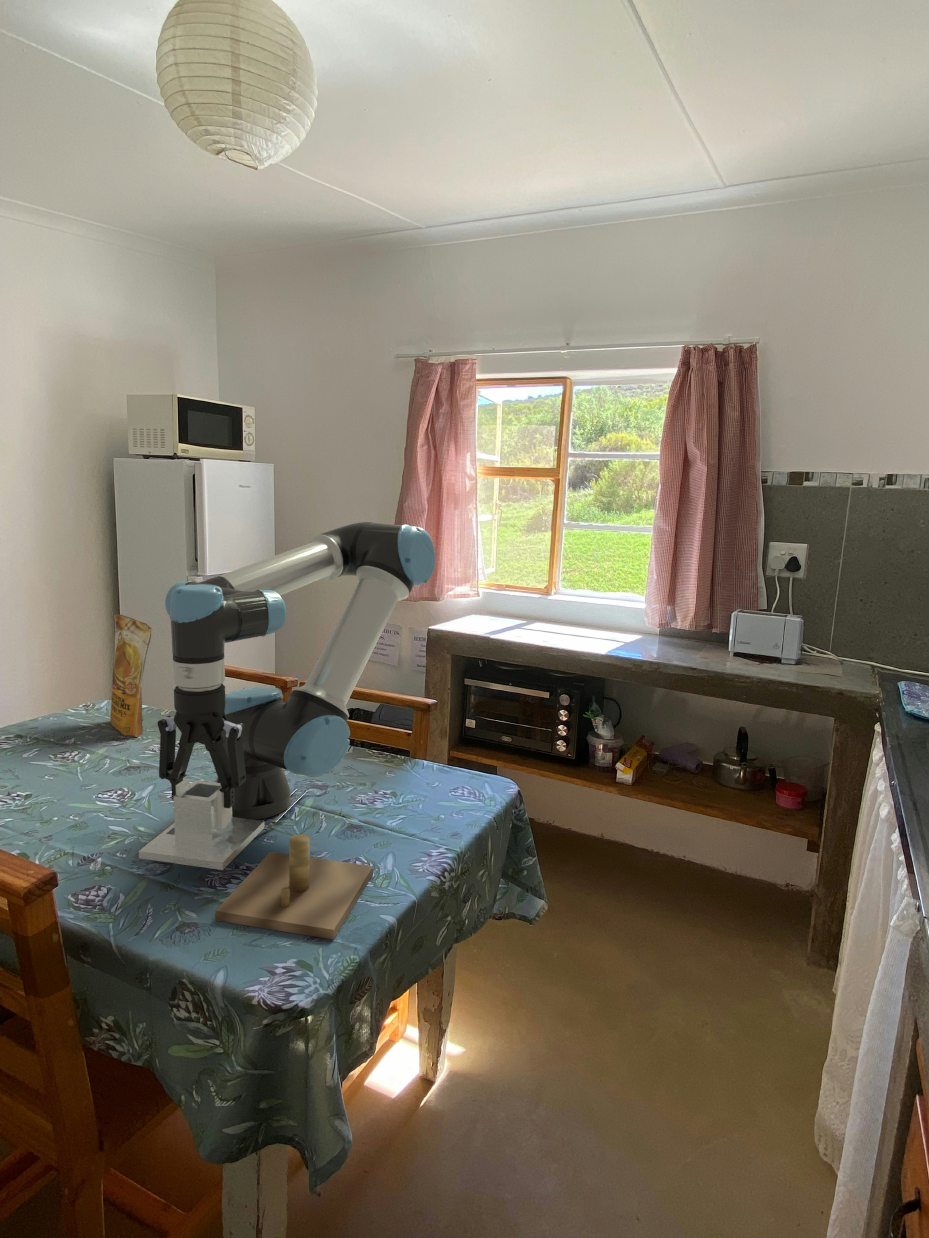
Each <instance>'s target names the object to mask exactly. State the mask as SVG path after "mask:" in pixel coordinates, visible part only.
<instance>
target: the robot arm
mask: <svg viewBox="0 0 929 1238" xmlns="http://www.w3.org/2000/svg"><path fill="white" fill-rule="evenodd" d="M435 550H436V549H435V545H434V542H433V540H432V538H431V535H430V534H429V532H428V531H427V530H426V529H424V528H422V527H420V526H413V525H410V524H391V523H380V522H371V521H362V522H361V521H359V522H356V523H355V522H354V523H351V524H350V523H349V524H347V525H344V526H341V527H337V528H335V529H332V530H328V531H326V532H323V533H320V534H317V535H315V536H313V537H312V538H311V539H310V541H309V543H307V544H303V545H302V546H301V545H300V546H298V547H296V548H292V549H290V550H288V551H285V552H282V553H279V554H276V555H272V556H271V557H269V558H265V559H262V560H259V561H257V562H254V563H252V564H249V565H246V566H243V567H240V568H238V569H234V570H232V571H229V572H226V573H223V574H220V575H216V576H214V577H211V578H207V579H205V580H202V581H200V582H196V581H194V580H188V581H185V580H184V581H179V582H176V583H174V584H173V585H172V586H171V587H170V588H169V589H168V590H167V592H166V596H165V599H164V601H165V602H164V603H165V606H164V607H165V609H166V612H167V615H168V616H169V619H170V629H171V630H170V631H171V648H172V653H171V654H172V673H173V675H172V676H173V677H172V678H173V684H174V685H175V688H174V689H173V703H174V704H173V705H174V707H173V708H174V710H175V713H174V714H175V715H174V716H171V715H167V716H165V717H163V718H161V719H160V720H158V721H157V723H156V724H157V727H158V731H159V735H160V737H159V738H160V740H159V741H160V742H159V765H158V766H159V767H158V777H159V778H160V779H161V780H164V779H165V780H168V781H169V783H170V786H171V800H172V802H174V800H173V796H175V795H176V794H177V793H179V792H180V791H182V790H183V789H184V788H186V787H187V786H188V785H190V784H191V783H190V778H185V777H187V776H188V774H186V773H187V769H188V766H189V762H190V760H191V755H192V753H193V750H194V747H195V744H197V743H199V744H201V745H204V747H205V749H206V751H207V752H209V756H210V757H211V761H212V763H213V767H214V770H215V773H216V775H217V776H216V779H215V783H220V785H221V788H219V789H218V790H217V807H218V829H223V828H224V827H225V826H227V825H228V824H229V823H230V822H231V811H230V808H231V807H232V817H236V818H244V819H252V820H262V819H266V818H270V817H274V816H275V815H278V814H280V813H283V812H284V811H285V810H287V809H288V808H289V807H290V805H291V802H292V801H291V800H292V798H291V797H292V794H291V793H292V792H291V787H290V784H289V782H288V781H289V780H288V779H287V776H286V773H285V770H286V771H289V772H290V773H292V774H293V775H296V776H304V777H309V778H319V777H322V776H324V775H326V774H329V773H330V772H332V771H333V770H334V769H336V767H338V766H339V764H341V762H342V761H343V759H344V757H345V756H346V754H347V752H348V749H349V746H350V741H351V740H350V739H349V737H350V736H351V731H350V727H349V724H348V723H347V721H348V720H349V717H350V714H349V711H348V708H347V703H348V701H349V699H350V697H351V695H352V693H353V691H354V689H355V688H356V685H357V683H358V681H359V679H360V678H361V676H362V673H363V671H364V669H365V667H366V665H367V663H369V662H368V661H369V659H370V657H371V656H372V654H373V651H374V649H375V647H376V645H377V643H378V641H379V639H380V637H381V635H382V633H383V631H384V629H385V628H386V626H387V624H388V621H389V619H390V617H391V615H392V613H393V612H394V609H395V607H396V606H397V603H398V602H400V601H402V600H406V599H408V597H409V596H410V594H411V592H412V589H413V588H414V586H421V585H424V584H426V583H428V582H429V581H430V579H431V578H432V577H433V574H434V571H435V567H436V551H435ZM344 576H347V577H348V576H352V577H353V576H355V577H356V576H357V580H358V581H359V582H358V583H357V585H356V587H355V589H354V591H353V593H352V595H351V597H350V599H349V601H348V602H347V604H346V606H345V608H344V610H343V612H342V614H341V616H340V618H339V619H338V621H337V623H336V625H335V627H334V629H333V630H332V633H331V634H330V636H329V638H328V640H327V642H326V644H325V646H324V648H323V649H322V651H321V654H320V655H319V657H318V660H317V661H316V663H315V665H314V667H313V668H312V670H311V672H310V675H308V678H307V680H306V682H305V684H304V685H302V686H298V687H296V688H293V689H292V691H291V692H290V695H289V696H288V698H287V700H286V702H285V701H283V698H284V695H283V692H282V690H281V689H280V688H278V687H271V686H270V687H269V686H264V687H263V686H262V687H249V688H245V689H244V688H242V689H237V690H233V691H230V692H228V693H226V685H224V684H223V683H224V682H225V681H226V674H225V673H226V672H225V671H226V670H225V668H226V667H225V644H228V643H232V642H237V641H242V640H249V639H252V638H259V637H263V638H264V637H266V636H268V635H272V634H275V633H277V632H279V631H281V629H282V628H283V627H284V625H285V624H286V620H287V607H286V603H285V600H284V599H283V597H282V596H283V595H285V594H287V593H290V592H292V591H295V590H298V589H300V588H303V587H305V586H307V585H310V584H311V583H312V584H313V583H315V582H317V581H319V580H322V579H324V580H327V581H328V580H334V579H338V578H340V577H344ZM177 729H178V730H179V732H180V733H181V734H180V738H179V742H178V750H177V753H176V744H177V743H176V742H177V741H176V739H177Z"/></svg>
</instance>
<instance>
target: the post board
mask: <svg viewBox="0 0 929 1238" xmlns="http://www.w3.org/2000/svg"><path fill="white" fill-rule="evenodd" d="M310 842H311V839H310V836H309V835H307V834H303V833H299V834H294V835H292V836H290V838H289V854H288V853H282V852H275V851H270V852H268V853H267V854H266V855H265V857H263V858H262V860H261V861H260V862H259V863H258V864H257V866H255V868H253V870H252V871H250V873H249V874H248V875H247V876H246V877H245V879H243V880H242V882H241V883H240V884H239V885H238V886H237V887H235V889H234V890H233V891H232V892H231V893H230V894H229V895H228V897H226V899H225V900H223V902H222V903H221V904H220V905H219V906H218V907H217V909H215V913H214V915H215V917H214V918H215V919H214V920H215V921H218V922H225V923H228V924H229V923H230V924H237V925H242V926H249V927H255V928H259V929H260V928H261V929H265V930H266V929H267V930H274V931H279V932H285V933H291V934H298V935H304V936H309V937H310V936H311V937H315V938H316V937H317V938H323V939H329V940H335V938H336V936H337V934H338V933H339V932H340V929H341V928H342V927H343V925H344V923H345V922H346V919H348V916H349V915H350V913H351V911H352V910H353V908H354V907H355V905H356V903H357V901H358V900H359V899H360V897H361V895H362V894H363V892H364V890H365V889H366V887H367V885H368V883H369V881H370V880H371V878H372V877H373V875H374V874H373V873H374V866H373V865H366V864H360V863H351V862H346V861H340V860H339V861H338V860H331V859H326V858H324V859H323V858H317V857H311V856H310V854H311V853H310V852H311V851H310V844H311V843H310Z"/></svg>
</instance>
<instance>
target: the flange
mask: <svg viewBox="0 0 929 1238" xmlns="http://www.w3.org/2000/svg"><path fill="white" fill-rule="evenodd" d="M215 782H216V781H215ZM215 782H213V781H205V780H194V781H192V782H191V783H189V784H190V785H188V786H187V787H186V788H184V789H183V790H182V791H180V792H179V793H177V794H176V795H175V796H173V800H174V801H173V800H172V801H173V821H174V822H173V823H172V824H171V825H170V826H169V827H167V828H166V829H164V830H163V831H162V832H161V833H160V834H158V835H157V836H156V837H154V838H153V839H152V840H151V841H149V842H148V843H147V844H146V845H145V846H143V847H142V848H141V849H139V850H138V859H141V860H142V859H143V860H148V861H149V860H150V861H156V862H163V863H171V864H179V865H183V866H184V865H185V866H192V867H198V868H207V869H213V870H219V871H223V870H224V869H226V867H227V866H229V864H230V863H231V862H233V860H234V859H235V858H236V857H237V856H239V854H240V853H241V852H242V851H243V850H244V849H245V848H247V846H248V845H250V843H251V842H252V841H253V840H254V839H255V838H256V837H257V836H258V835H259V834H260V833H261V832H262V831H263V829H265V821H264V820H261V819H257V820H252V819H244V818H236V817H232V807H231V808H230V811H231V822H230V823H229V824H228V825H227V826H225V827H224V828H223V829H218V807H217V790H218V789H219V788H221V785H220V783H215Z"/></svg>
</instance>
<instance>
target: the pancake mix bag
mask: <svg viewBox="0 0 929 1238" xmlns="http://www.w3.org/2000/svg"><path fill="white" fill-rule="evenodd" d="M113 619H114V645H113V650H114V651H113V654H114V655H113V656H114V657H113V667H112V684H111V686H112V687H111V697H110V698H111V699H110V700H111V703H110V714H109V716H110V719H109V720H110V724H111V726H112V727H113V728H114V729H115V730H116V731H119V733H120V734H122V735H123V736H125V737H134V738H138V737H140V736H142V735H143V733H144V732H143V731H144V730H143V720H144V719H143V697H142V694H143V693H142V682H143V681H142V680H143V676H144V671H145V665H146V659H147V654H148V649H149V646H150V644H151V639H152V635H153V628H152V627H150V625H149V624H148V623H145V622H143V621H140V620H137V619H136V618H132V617H130V616H126V615H124V614H119V613H117V614H114V615H113Z"/></svg>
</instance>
